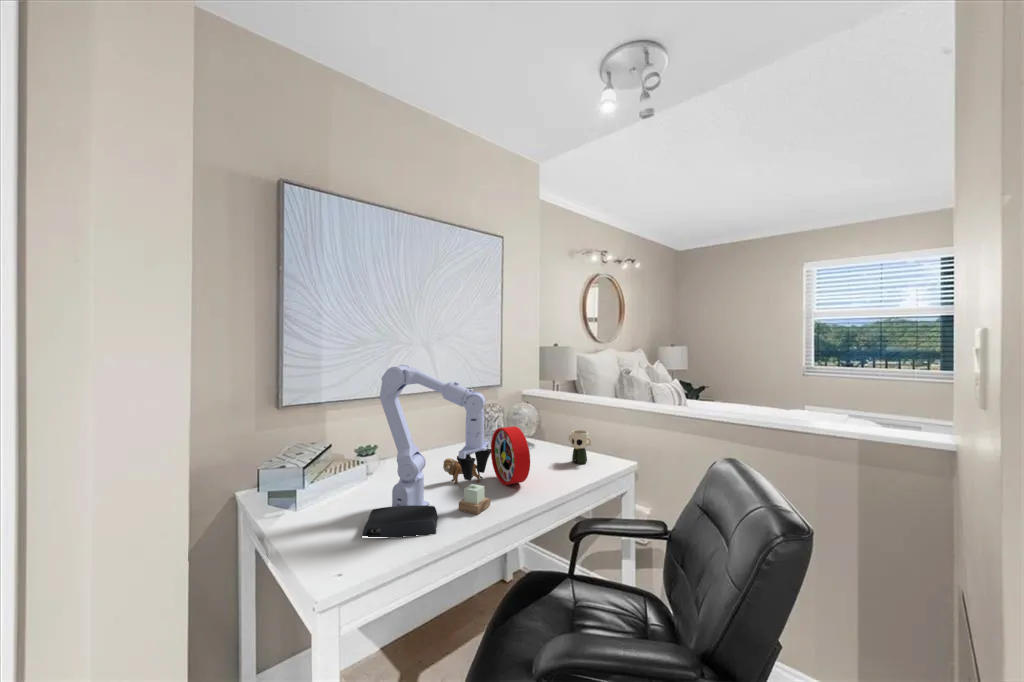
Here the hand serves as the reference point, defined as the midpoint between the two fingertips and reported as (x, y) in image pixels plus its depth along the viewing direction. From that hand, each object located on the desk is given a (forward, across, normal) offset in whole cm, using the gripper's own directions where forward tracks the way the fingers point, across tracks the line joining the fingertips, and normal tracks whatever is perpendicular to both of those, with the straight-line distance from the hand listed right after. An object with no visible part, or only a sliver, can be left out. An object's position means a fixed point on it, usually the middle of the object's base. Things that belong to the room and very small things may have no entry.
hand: (474, 475), depth 127 cm
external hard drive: (+11, -20, +11) cm, 25 cm away
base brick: (+10, 0, 0) cm, 10 cm away
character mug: (+10, +60, -14) cm, 62 cm away
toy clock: (+10, +25, +1) cm, 27 cm away
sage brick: (+8, 0, 0) cm, 8 cm away
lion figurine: (+10, +17, +16) cm, 26 cm away
